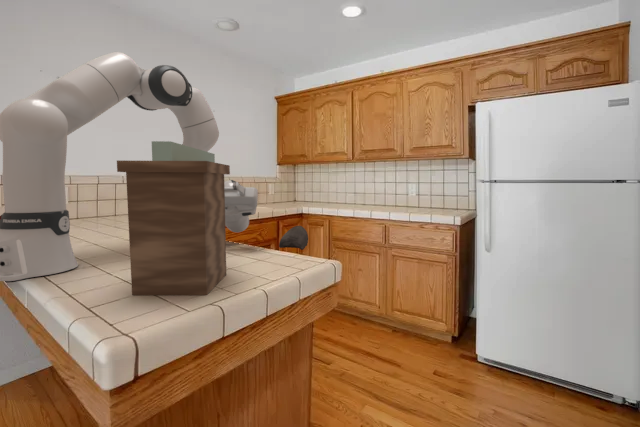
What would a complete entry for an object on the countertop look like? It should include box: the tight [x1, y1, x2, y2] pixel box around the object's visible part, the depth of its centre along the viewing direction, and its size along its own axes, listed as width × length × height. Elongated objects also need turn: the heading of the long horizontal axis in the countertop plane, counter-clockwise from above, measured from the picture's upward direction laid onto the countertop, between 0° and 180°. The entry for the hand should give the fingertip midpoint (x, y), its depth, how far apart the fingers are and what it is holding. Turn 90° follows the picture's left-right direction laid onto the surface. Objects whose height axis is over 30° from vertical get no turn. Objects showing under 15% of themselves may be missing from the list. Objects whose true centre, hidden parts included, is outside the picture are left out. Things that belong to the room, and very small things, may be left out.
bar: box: [151, 140, 216, 163], centre depth 72 cm, size 26×3×3 cm, turn 1°
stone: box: [278, 225, 309, 251], centre depth 110 cm, size 10×8×10 cm
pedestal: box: [116, 160, 231, 296], centre depth 69 cm, size 16×16×25 cm
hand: (218, 184), depth 96 cm, fingers open, 8 cm apart
